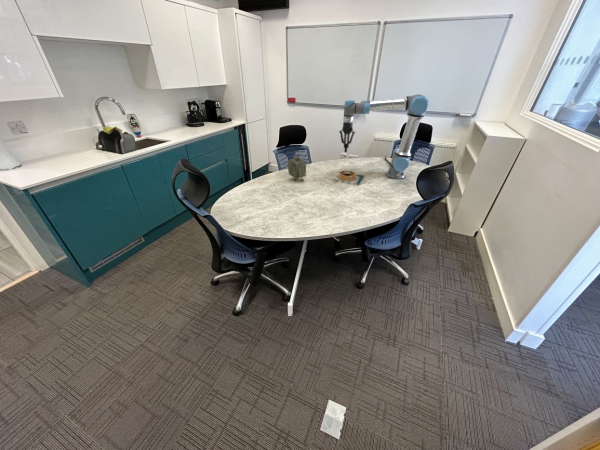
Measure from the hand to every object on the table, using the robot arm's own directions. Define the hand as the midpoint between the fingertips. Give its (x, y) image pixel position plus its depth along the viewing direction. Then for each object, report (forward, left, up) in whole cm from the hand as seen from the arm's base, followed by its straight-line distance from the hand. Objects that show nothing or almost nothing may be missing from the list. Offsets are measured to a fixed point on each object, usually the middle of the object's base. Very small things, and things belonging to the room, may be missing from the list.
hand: (345, 151), depth 206 cm
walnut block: (+4, +4, -21) cm, 22 cm away
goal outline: (+4, +5, -21) cm, 22 cm away
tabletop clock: (+26, -34, -22) cm, 48 cm away
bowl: (+4, +4, -21) cm, 22 cm away
